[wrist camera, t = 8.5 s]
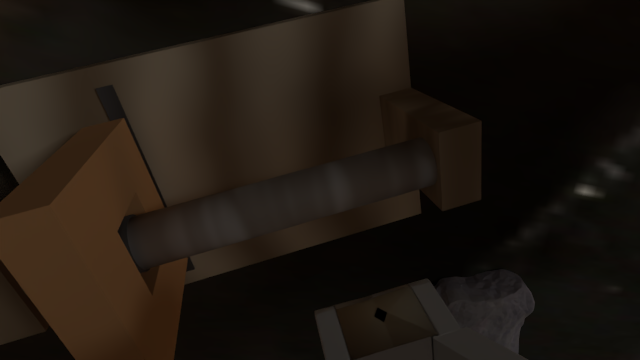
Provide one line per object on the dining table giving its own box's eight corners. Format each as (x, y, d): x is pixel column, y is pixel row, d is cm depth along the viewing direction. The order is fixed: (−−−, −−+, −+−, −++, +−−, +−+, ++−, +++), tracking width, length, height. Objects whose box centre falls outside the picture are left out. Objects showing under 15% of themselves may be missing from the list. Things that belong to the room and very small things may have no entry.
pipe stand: (392, -5, 21) (482, -7, 14) (411, 203, 28) (480, 277, 20) (-20, 89, 19) (-178, 148, 11) (106, 293, 25) (57, 416, 18)
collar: (123, 117, 19) (49, 205, 11) (187, 259, 23) (168, 396, 15) (82, 127, 18) (-25, 225, 11) (154, 268, 23) (116, 414, 15)
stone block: (392, 359, 38) (491, 359, 38) (403, 404, 34) (514, 403, 34) (406, 260, 33) (517, 261, 34) (420, 297, 29) (548, 297, 29)
